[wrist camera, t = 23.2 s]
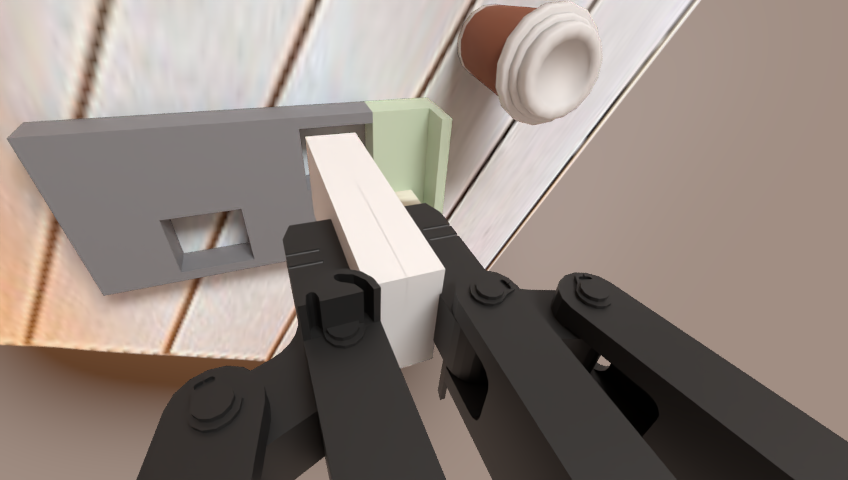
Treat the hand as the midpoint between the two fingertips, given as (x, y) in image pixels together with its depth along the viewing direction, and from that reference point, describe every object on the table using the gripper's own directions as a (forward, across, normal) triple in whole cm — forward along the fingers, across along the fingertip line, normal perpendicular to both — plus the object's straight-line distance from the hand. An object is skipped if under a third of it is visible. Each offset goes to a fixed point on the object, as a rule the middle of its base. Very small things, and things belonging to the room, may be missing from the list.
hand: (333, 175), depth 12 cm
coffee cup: (+25, +20, -1) cm, 32 cm away
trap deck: (+25, -2, -14) cm, 29 cm away
